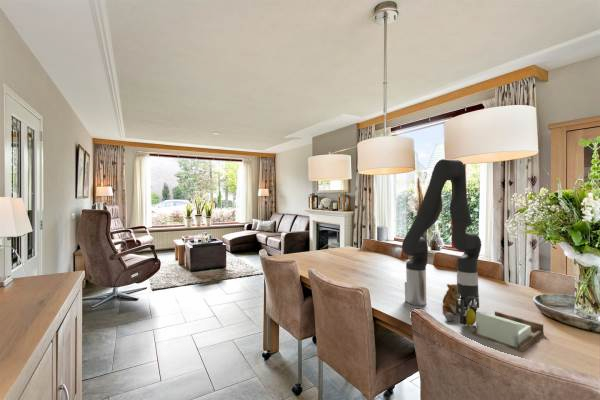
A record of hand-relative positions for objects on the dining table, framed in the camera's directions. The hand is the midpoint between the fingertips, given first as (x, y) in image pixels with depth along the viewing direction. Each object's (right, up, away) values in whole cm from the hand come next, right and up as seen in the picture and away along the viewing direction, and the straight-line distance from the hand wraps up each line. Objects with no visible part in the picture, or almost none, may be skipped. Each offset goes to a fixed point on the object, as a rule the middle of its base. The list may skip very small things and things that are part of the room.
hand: (468, 321), depth 114 cm
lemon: (0, -2, 0) cm, 2 cm away
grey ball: (-5, -2, +5) cm, 7 cm away
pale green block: (+8, -1, -9) cm, 12 cm away
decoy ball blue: (+10, -2, +5) cm, 11 cm away
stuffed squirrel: (+2, -2, +16) cm, 16 cm away
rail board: (+11, -2, -7) cm, 13 cm away
